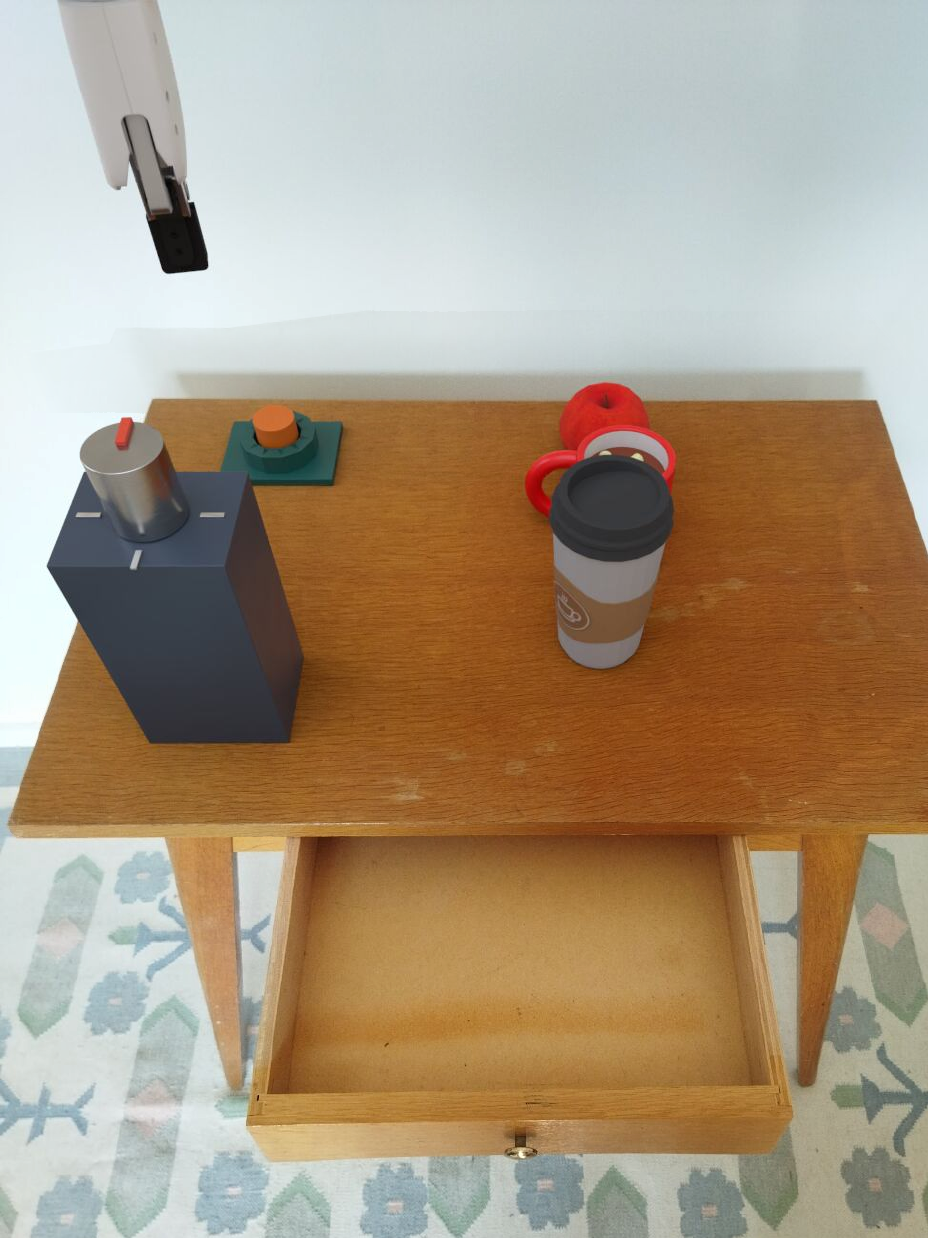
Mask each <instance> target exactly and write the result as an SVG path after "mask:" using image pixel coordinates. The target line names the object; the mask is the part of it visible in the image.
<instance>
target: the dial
mask: <svg viewBox="0 0 928 1238" xmlns="http://www.w3.org/2000/svg"><path fill="white" fill-rule="evenodd" d="M79 460H80V462H81V464H82V466H83V468H84V472H86V473H87V475H88V477H89V479H90V481H91V483H92V485H93V487H94V489H95V491H96V494H97V496H98V498H99V500H100V502H101V504H102V506H103V508H104V510H105V512H106V514H107V516H108V518H109V521H110V523H111V525H112V527H113V529H114V530H115V532H116V533H117V534H118V535H119V536H121V537H122V538H124V539H127V540H130V541H134V542H150V541H156V540H160V539H162V538H165V537H167V536H169V535H171V534H173V533H174V532H176V531H177V530H178V529H180V528H181V527H182V526H183V524H184V523H185V522H186V520H187V518H188V515H189V506H188V503H187V500H186V497H185V495H184V492H183V490H182V487H181V484H180V482H179V479H178V476H177V474H176V472H177V470H176V469H175V466H174V464H173V461H172V458H171V456H170V453H169V451H168V448H167V445H166V443H165V441H164V437H163V435H162V434H161V432H160V431H159V429H157V428H155V427H154V426H152V425H150V424H148V423H144V422H141V421H134V420H133V417H132V416H127V417H126V416H125V417H124V416H123V417H121V418H120V422H116V423H111V424H108V425H106V426H104V427H101V428H99V429H97V430H96V431H94V432H92V433H91V434H89V436H88V437H87V438H86V439H85V440H84V441H83V443H82V444H81V447H80V448H79Z"/></svg>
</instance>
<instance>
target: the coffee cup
mask: <svg viewBox="0 0 928 1238" xmlns="http://www.w3.org/2000/svg"><path fill="white" fill-rule="evenodd" d="M550 499H551V508H550V510H549V517H548V522H549V526H550V527H551V530H552V543H553V545H552V546H553V561H552V562H553V564H552V567H553V586H554V600H555V601H554V603H555V616H556V619H557V620H556V621H557V638H558V641H559V644H560V646H561V648H562V650H563V651H565V653H566V654H567V656H568V657H569V658H570V659H571V660H573V661H574V662H575V663H577V664H579V665H581V666H583V667H585V668H591V669H596V670H597V669H599V670H600V669H601V670H603V669H610V668H615V667H617V666H619V665H622V664H623V663H625V662H626V661H627V660H629V659H630V658H631V657H632V656H633V655H634V654H635V653H636V651H637V650H638V648H639V646H640V642H641V640H642V639H641V638H642V636H643V631H644V628H645V624H646V622H647V620H648V617H649V613H650V609H651V605H652V602H653V598H654V594H655V590H656V585H657V582H658V578H659V574H660V572H661V562H662V558H663V554H664V550H665V546H666V542H667V540H668V539H669V538H670V537H671V535H672V531H673V528H674V524H675V523H674V512H675V509H674V500H673V497H672V494H671V495H670V493H669V487H668V485H667V483H666V481H665V479H664V477H663V476H662V475H661V474H660V473H659V472H658V471H657V470H656V469H655V468H653V467H652V466H650V465H649V464H647V463H646V462H643V461H641V460H638V459H635V458H633V457H628V456H623V455H599V456H593V457H589V458H587V459H584V460H581V461H579V462H577V463H576V464H574V465H573V466H571V467H570V468H567V469H566V471H564V473H563V474H562V475H561V477H560V480H559V481H558V484H557V485H556V486H555V488H554V490H553V493H552V496H551V498H550Z"/></svg>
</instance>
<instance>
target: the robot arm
mask: <svg viewBox="0 0 928 1238" xmlns="http://www.w3.org/2000/svg"><path fill="white" fill-rule="evenodd" d="M56 2H57V5H58V12H59V15H60V20H61V24H62V29H63V33H64V37H65V41H66V44H67V45H66V46H67V49H68V51H69V57H70V61H71V64H72V67H73V70H74V71H73V72H74V75H75V78H76V82H77V85H78V88H79V91H80V95H81V98H82V101H83V105H84V109H85V112H86V115H87V119H88V122H89V126H90V128H91V132H92V135H93V140H94V142H95V146H96V149H97V153H98V156H99V159H100V163H101V166H102V170H103V173H104V175H105V180H106V183H107V185H109V187H111V188H112V189H113V190H114V191H121V189H122V188H123V187H128V179H129V167H130V168H131V171H132V174H133V178H134V180H135V183H136V186H137V189H138V193H139V195H140V198H141V201H142V205H143V207H144V211H145V219H146V222H147V225H148V229H149V232H150V236H151V238H152V242H153V245H154V249H155V251H156V254H157V258H158V260H159V264H160V267H161V271H162V272H163V273H164V274H167V275H173V274H182V273H183V274H184V273H192V272H203V271H207V270H208V269H209V266H210V265H209V254H208V251H207V246H206V242H205V238H204V235H203V231H202V227H201V223H200V219H199V215H198V212H197V208H196V204H195V201H191V195H190V190H189V186H188V182H187V177H188V160H187V159H188V157H187V155H188V154H187V141H186V140H187V139H186V128H185V122H184V114H183V109H182V102H181V101H182V100H181V96H180V92H179V87H178V81H177V76H176V72H175V67H174V63H173V59H172V55H171V50H170V47H169V42H168V38H167V34H166V30H165V25H164V22H163V18H162V14H161V10H160V9H161V8H160V5H159V1H158V0H56Z"/></svg>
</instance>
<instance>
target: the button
mask: <svg viewBox="0 0 928 1238" xmlns="http://www.w3.org/2000/svg"><path fill="white" fill-rule="evenodd" d="M293 411H294V410H292V409H291V408H289V407H288V406H285V405H280V404H271V405H267V406H264V407H262V408H260V409H259V410H257V411H256V412H255V413H254V414H253V416H252V418H253V425H254V428H255V432H256V435H257V439H258V442H259V444H260V445H261V446H263V447H265V448H283V447H286V446H289V445H292V444H293V443H294V442H295V441H296V440H297V439H298V436H299V433H298V429H297V425H296V420H295V416H294V413H293Z"/></svg>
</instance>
